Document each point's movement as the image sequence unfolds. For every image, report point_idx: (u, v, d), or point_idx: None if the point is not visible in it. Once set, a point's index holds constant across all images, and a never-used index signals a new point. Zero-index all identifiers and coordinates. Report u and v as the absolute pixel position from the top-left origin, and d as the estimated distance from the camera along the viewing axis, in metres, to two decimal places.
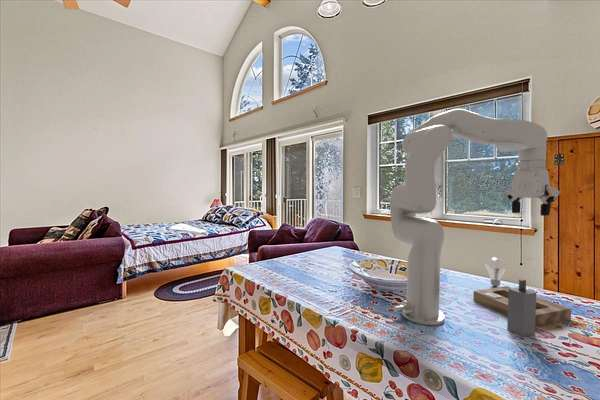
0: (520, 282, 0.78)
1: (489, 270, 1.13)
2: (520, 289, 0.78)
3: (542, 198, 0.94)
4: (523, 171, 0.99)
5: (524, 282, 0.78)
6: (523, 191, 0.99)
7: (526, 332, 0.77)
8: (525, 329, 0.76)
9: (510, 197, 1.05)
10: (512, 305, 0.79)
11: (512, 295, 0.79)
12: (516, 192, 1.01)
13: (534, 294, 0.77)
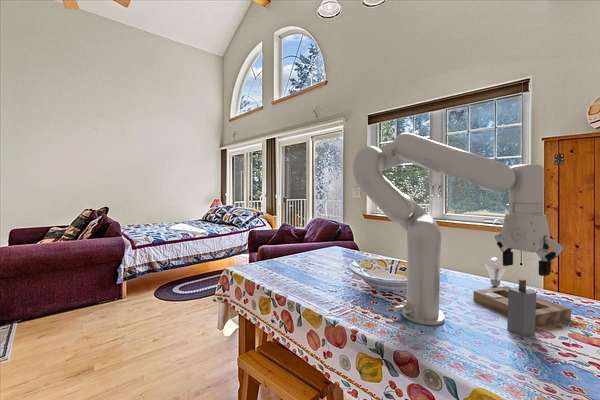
0: (520, 282, 0.78)
1: (489, 270, 1.13)
2: (520, 289, 0.78)
3: (540, 253, 0.73)
4: (515, 216, 0.77)
5: (524, 282, 0.78)
6: (515, 241, 0.77)
7: (526, 332, 0.77)
8: (525, 329, 0.76)
9: (500, 245, 0.84)
10: (512, 305, 0.79)
11: (512, 295, 0.79)
12: (507, 241, 0.80)
13: (534, 294, 0.77)
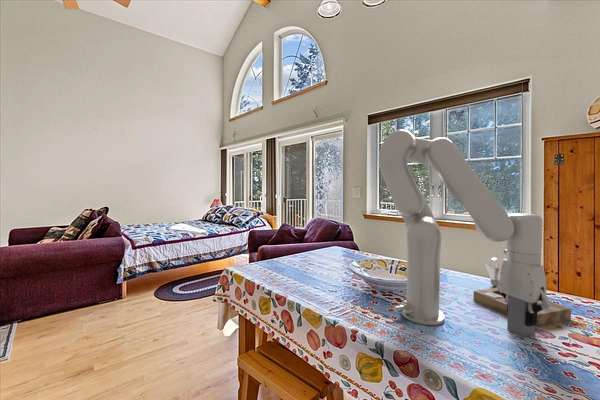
0: None
1: (489, 270, 1.13)
2: None
3: (530, 305, 0.75)
4: (513, 264, 0.78)
5: None
6: (512, 289, 0.78)
7: (526, 332, 0.77)
8: (525, 329, 0.76)
9: (505, 296, 0.82)
10: (512, 305, 0.79)
11: None
12: (504, 288, 0.80)
13: None
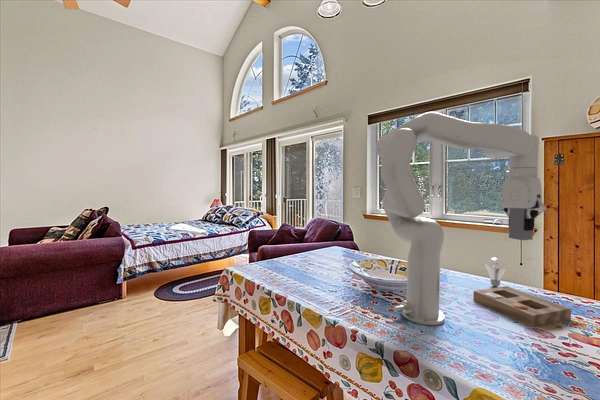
0: None
1: (489, 270, 1.13)
2: None
3: (528, 212, 0.88)
4: (514, 179, 0.91)
5: None
6: (513, 201, 0.91)
7: (525, 236, 0.90)
8: (524, 233, 0.90)
9: (507, 211, 0.95)
10: (513, 215, 0.92)
11: None
12: (506, 202, 0.94)
13: None
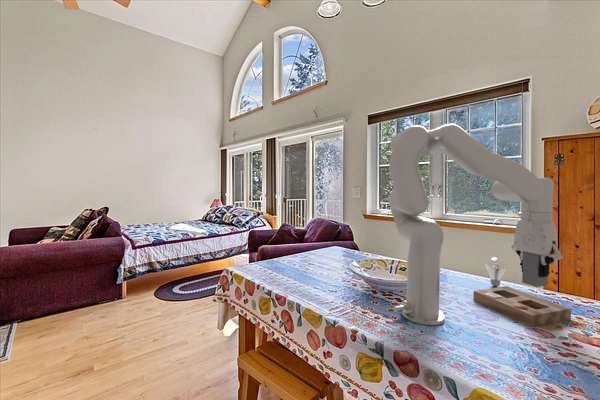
0: None
1: (489, 270, 1.13)
2: None
3: (542, 258, 0.85)
4: (527, 223, 0.87)
5: None
6: (526, 245, 0.88)
7: (539, 283, 0.86)
8: (538, 280, 0.86)
9: (519, 253, 0.92)
10: (527, 260, 0.88)
11: None
12: (519, 245, 0.90)
13: None
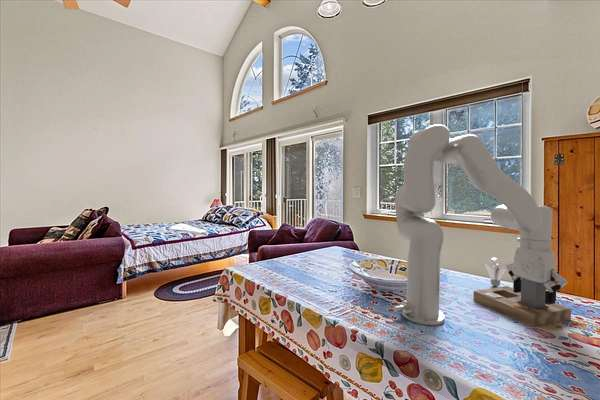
0: None
1: (489, 270, 1.13)
2: None
3: (547, 285, 0.84)
4: (526, 250, 0.88)
5: None
6: (525, 272, 0.88)
7: None
8: None
9: (511, 274, 0.94)
10: (525, 291, 0.89)
11: (525, 282, 0.89)
12: (518, 271, 0.90)
13: None
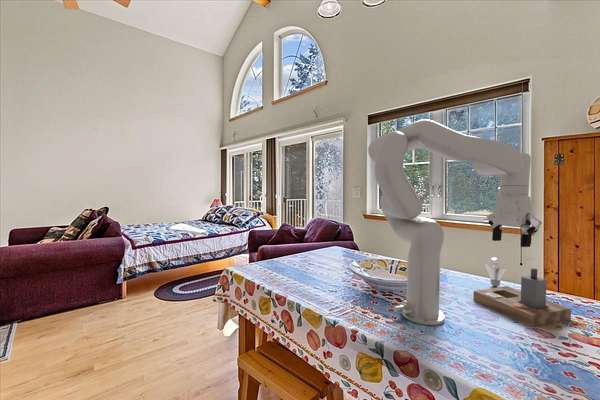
0: (532, 271, 0.88)
1: (489, 270, 1.13)
2: (532, 277, 0.88)
3: (523, 228, 0.86)
4: (504, 197, 0.91)
5: (535, 270, 0.88)
6: (503, 218, 0.91)
7: None
8: None
9: (491, 223, 0.97)
10: (525, 291, 0.89)
11: (525, 282, 0.89)
12: (496, 219, 0.93)
13: (544, 281, 0.87)
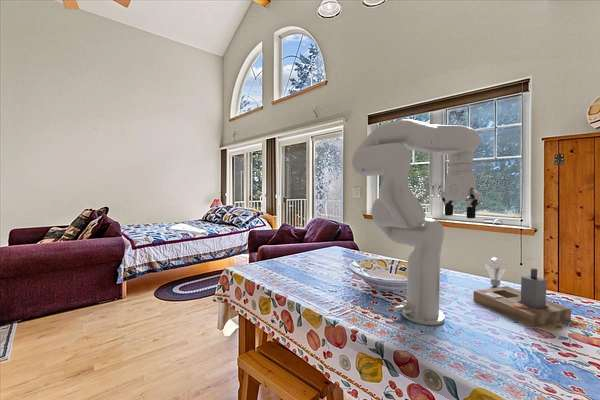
0: (532, 271, 0.88)
1: (489, 270, 1.13)
2: (532, 277, 0.88)
3: (468, 201, 0.96)
4: (452, 174, 1.00)
5: (535, 270, 0.88)
6: (452, 194, 1.00)
7: None
8: None
9: (444, 200, 1.07)
10: (525, 291, 0.89)
11: (525, 282, 0.89)
12: (447, 195, 1.03)
13: (544, 281, 0.87)
